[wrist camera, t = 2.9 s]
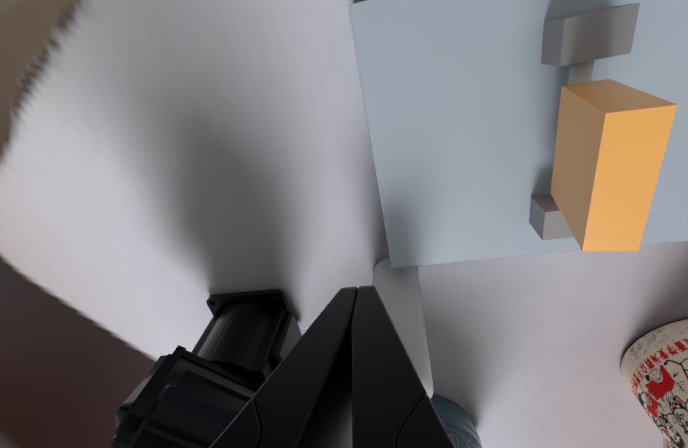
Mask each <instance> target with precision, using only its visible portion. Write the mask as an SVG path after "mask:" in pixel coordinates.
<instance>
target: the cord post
mask: <svg viewBox="0 0 688 448" xmlns="http://www.w3.org/2000/svg"><path fill="white" fill-rule="evenodd" d="M373 286H375V287H376V289H377V291H378V293H379V295H380V297H381V299H382V301H383V303H384V306H385V308H386V310H387V312H388V314H389V316H390V318H391V320H392V322H393V324H394V326H395V328H396V330H397V332H398V334H399V336H400V338H401V340H402V343H403V345H404V347H405V349H406V351H407V353H408V355H409V357H410V359H411V361H412V363H413V365H414V367H415V369H416V371H417V373H418V375H419V377H420V380H421V382H422V384H423V386H424V388H425V390H426V392H427V396H429V398H430V399H431V397H432V395H433V392H434V388H433V381H432V374H431V366H430V359H429V352H428V344H427V337H426V330H425V322H424V315H423V308H422V300H421V293H420V286H419V278H418V271H417V268H416V266H410V267H399V268H391V263H390V257H388V258H385V259H383V260H381V261H380V262H379V263H377V265H376V266H375V268H374V271H373Z"/></svg>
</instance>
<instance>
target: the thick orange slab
mask: <svg viewBox="0 0 688 448" xmlns="http://www.w3.org/2000/svg"><path fill="white" fill-rule="evenodd" d="M676 108H677V104H674V103H672V102H669V101H666V100H664V99H661V98H659V97H656V96H653V95H651V94H648V93H646V92H643V91H640V90H638V89H635V88H632V87H630V86H627V85H625V84H622V83H619V82H617V81H614V80H611V79H605V80H598V81H591V82H585V83H578V84H571V85H564V86H562V87H561V97H560V106H559V116H558V125H557V135H556V144H555V154H554V163H553V173H552V182H551V192H550V193H551V195H552V197H553V199H554V201H555V203H556V204H557V206H558V208H559V210H560V212H561V214H562V215H563V217H564V219H565V221H566V223H567V224H568V226H569V228H570V230H571V232H572V234H573V235H574V237H575V239H576V241H577V243H578V245H579V246H580V248H581V250H582V251H639V247H640V243H641V239H642V236H643V232H644V228H645V224H646V221H647V217H648V213H649V209H650V206H651V202H652V198H653V194H654V191H655V187H656V183H657V179H658V176H659V172H660V168H661V164H662V161H663V157H664V153H665V149H666V146H667V142H668V138H669V134H670V131H671V127H672V123H673V120H674V116H675V112H676Z"/></svg>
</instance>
